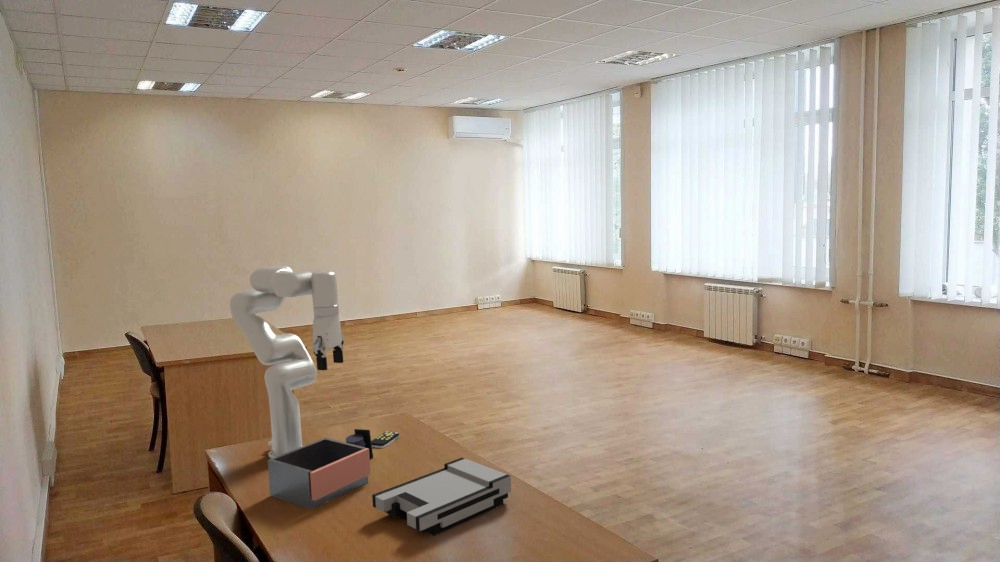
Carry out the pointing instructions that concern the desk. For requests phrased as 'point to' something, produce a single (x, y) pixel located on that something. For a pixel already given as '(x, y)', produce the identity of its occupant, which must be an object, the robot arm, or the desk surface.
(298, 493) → the box
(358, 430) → the speaker
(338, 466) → the tailgate
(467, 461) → the game console
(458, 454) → the desk surface
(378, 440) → the remote control
